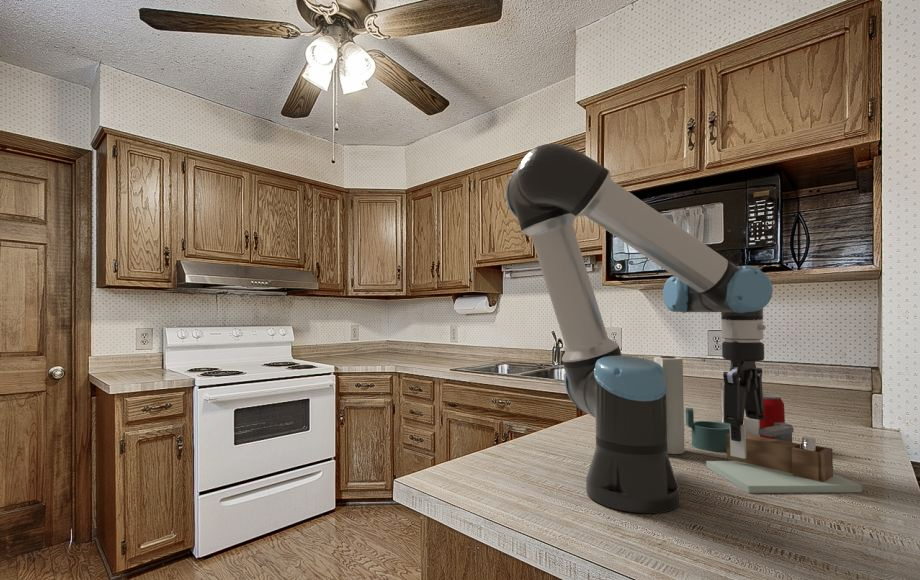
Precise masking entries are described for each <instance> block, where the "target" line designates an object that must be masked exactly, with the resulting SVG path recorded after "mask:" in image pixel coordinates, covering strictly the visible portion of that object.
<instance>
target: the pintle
mask: <svg viewBox="0 0 920 580" xmlns="http://www.w3.org/2000/svg"><path fill="white" fill-rule="evenodd" d="M801 443H802V449H804V450H810V451H815V452H816V446H817V445H816V439H815V438H814V437H808V436H802V437H801ZM815 445H816V446H815Z"/></svg>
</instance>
